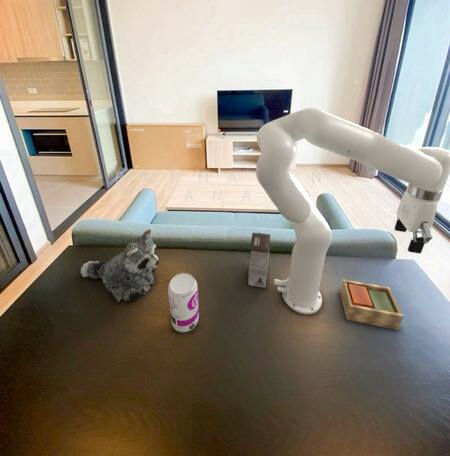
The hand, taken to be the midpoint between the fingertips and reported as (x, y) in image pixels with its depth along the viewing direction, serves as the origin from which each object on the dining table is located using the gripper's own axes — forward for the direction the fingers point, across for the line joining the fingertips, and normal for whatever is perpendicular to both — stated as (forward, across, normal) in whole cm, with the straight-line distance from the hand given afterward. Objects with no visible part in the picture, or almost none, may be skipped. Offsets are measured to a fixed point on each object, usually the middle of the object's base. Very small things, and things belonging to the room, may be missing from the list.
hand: (406, 240), depth 74 cm
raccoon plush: (+24, +18, -90) cm, 95 cm away
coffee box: (+23, +3, -44) cm, 49 cm away
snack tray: (+23, +8, -8) cm, 25 cm away
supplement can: (+23, +25, -63) cm, 72 cm away
